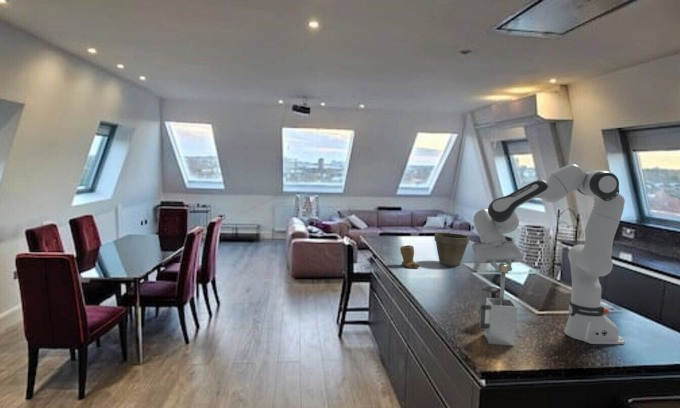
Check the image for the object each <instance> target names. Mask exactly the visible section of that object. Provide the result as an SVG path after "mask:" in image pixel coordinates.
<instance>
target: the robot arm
mask: <svg viewBox="0 0 680 408" xmlns="http://www.w3.org/2000/svg"><path fill="white" fill-rule="evenodd" d="M619 181H620V180H619V179H618V177H617V175H616V174H615V173H613V172H611V171H608V170H599V169H598V170H597V169H595V170H584V169H583V168H582V167H581V166H579V165H578V164H575V163H571V164H568V165H565V166H563V167H560V168H559V169H557V170H556V171H554V172H552V173H550V174H548V175H547V176H546V177H544V178H541V179H540V180H539V179H538V180H535V181H531V182H529V183H528V184H526V185H524V186H522V187H521V188H519V189H516V190H515V191H513V192H511V193H509V194H507V195H505V196H504V195H503V196H501V197H497V198H495V199H493V200H492V201H491V202H490V203H489V205H488V207H487V208H482V209H480V210H478V211H476V213H475V214H474V216H473V224H474V228H475V230H476V232H477V234H478V235H479V240H480V242H474V243H473V244H472V245H471V247H472V250H473V254H474V258H475V261H476V262H477V263H478V264H490V265H491V266H492V267H493V268H494V269H495V271H496V272H499V271H501V267H500V266H499V264H506V265H509V268H508V272H511V271H512V270H513V267H512V263H513V264H514V263H519V262H521V261H522V259H523V254H522V251H521V249H520V247H519V246H518V245H517V244H516V243H515V239H514V238H513V237H510V236H507V235H505V234H509V233H511V232H514V231H516V229H518V227H519V225H520V219H519V217H518V215H517V213H516V209H517V208H518V207H520V206H522V205H524V204H526V203H528V202H529V201H532V200H533V199H541V200H542V201H544V202H548V203H556V202H558V201H560V200H562V199H564V198H565V197H567V196H568V195H570V194H571V193H573V192H575V191H578V192H579V193H580V194H582V195H584V196H590V197H593V202H594V203H593V207H592V209H591V211H590V215H589V217H588V220H587V222H586V225H585V228H584V234H585V236H584V237H585V238H584V244H575V245H573V246H571V247H570V248H569V250H568V253H567V255H568V256H567V257H568V258H567V259H569V266H570V276H571V293H570V294H571V297H570V300H569V306H568V317H567V323H566V326H565V329H564V331H563V332H564V334H565V335H567V336H568V337H570V338H572V339H576V340H578V341H583V342H585V343H588V344H590V345H591V344H592V345H625V339H624V338H623V337H622V336H621V335H619V329H618V326H617V325H616V324H615V323H614V322H613V321H612V320H611V319H609V318H608V317H607V316H606V315H608V314H610V309H608V308H607V307H603V306H602V305H601V299H602V285H601V283H600V278H599V277H605V276H608V275H609V274H610V273H611V271H612V270H613V267H614V266H613V265H614V263H613V260H612V254H613V253H612V252H613V245H614V244H613V243H614V239H615V235H616V233H617V230H618V227H619V225H620V221H621V220H622V217H623V212H624V208H625V200H626V199H625V198H624V197H625V196H623V195H622V194H620V182H619ZM605 314H606V315H605Z"/></svg>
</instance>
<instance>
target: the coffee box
mask: <svg viewBox="0 0 680 408" xmlns="http://www.w3.org/2000/svg"><path fill="white" fill-rule="evenodd" d="M486 298H495V299H500V288H499V287H495V286H489V285H488V286H486V287H484V288H480V299H479V300H480V301H479V302H480V303H479V310H480V309H481V304H483V305H486ZM485 312H486V310H485ZM478 315H479V316H478V325H480V311H479V314H478ZM484 323H485V321H484Z"/></svg>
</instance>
